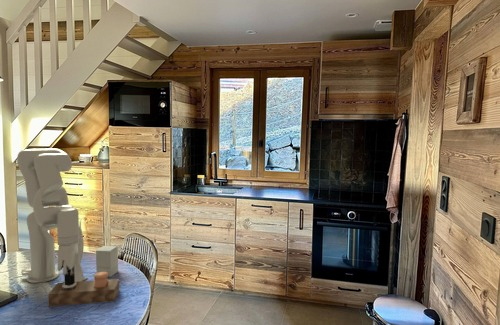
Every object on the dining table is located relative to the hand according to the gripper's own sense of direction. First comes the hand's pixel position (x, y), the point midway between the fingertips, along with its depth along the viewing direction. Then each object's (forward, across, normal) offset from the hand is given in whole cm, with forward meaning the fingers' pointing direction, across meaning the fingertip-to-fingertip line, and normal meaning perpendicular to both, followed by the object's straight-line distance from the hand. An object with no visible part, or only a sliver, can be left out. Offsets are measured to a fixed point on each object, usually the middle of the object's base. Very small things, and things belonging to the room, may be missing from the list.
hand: (69, 283), depth 131 cm
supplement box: (+6, -24, +9) cm, 27 cm away
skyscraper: (+6, -17, -3) cm, 19 cm away
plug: (+6, 0, 0) cm, 6 cm away
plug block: (+6, 0, +6) cm, 9 cm away
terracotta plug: (+3, 0, +12) cm, 12 cm away
